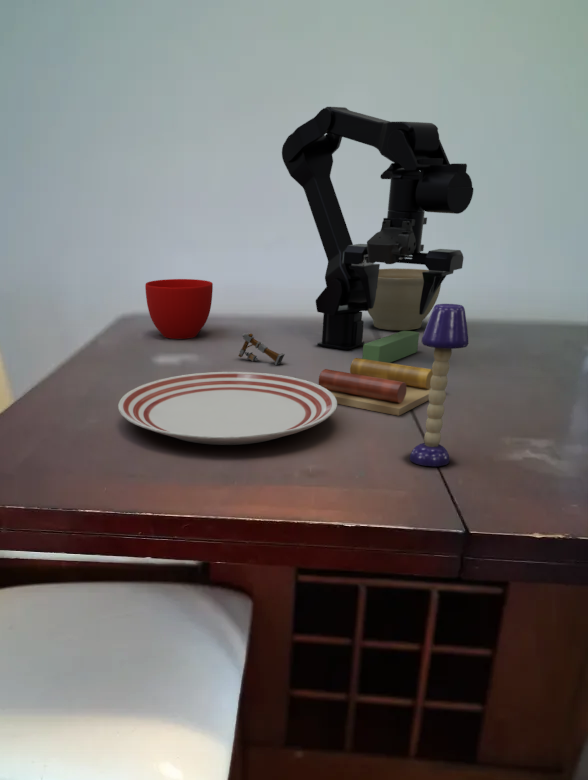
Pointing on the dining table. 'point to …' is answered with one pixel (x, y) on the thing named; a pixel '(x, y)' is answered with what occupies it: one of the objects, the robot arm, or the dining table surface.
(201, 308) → the ceramic cup
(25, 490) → the dining table surface
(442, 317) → the toy lamp
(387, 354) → the bar
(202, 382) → the dinner plate
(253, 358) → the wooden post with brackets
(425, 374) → the rod rack
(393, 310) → the planter bowl
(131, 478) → the dining table surface
